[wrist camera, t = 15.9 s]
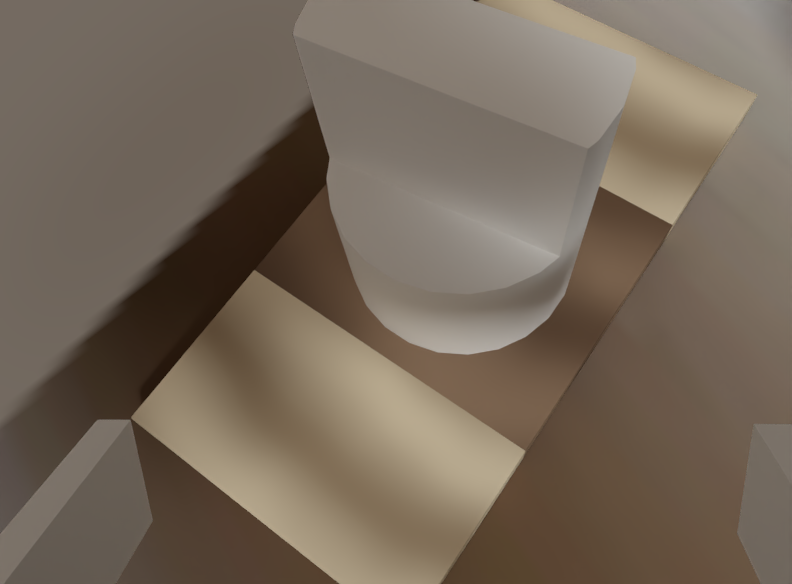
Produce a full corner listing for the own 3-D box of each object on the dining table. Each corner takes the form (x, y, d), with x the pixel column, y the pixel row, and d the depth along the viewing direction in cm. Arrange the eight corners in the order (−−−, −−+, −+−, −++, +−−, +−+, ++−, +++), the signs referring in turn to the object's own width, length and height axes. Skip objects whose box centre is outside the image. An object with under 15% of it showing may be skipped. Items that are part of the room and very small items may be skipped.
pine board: (498, -1, 37) (499, -24, 36) (745, 115, 34) (757, 94, 32) (145, 426, 30) (130, 417, 29) (408, 634, 27) (405, 635, 25)
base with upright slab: (310, 294, 30) (222, 115, 19) (415, 125, 33) (390, -117, 22) (515, 394, 28) (547, 255, 17) (609, 203, 31) (689, -23, 20)
